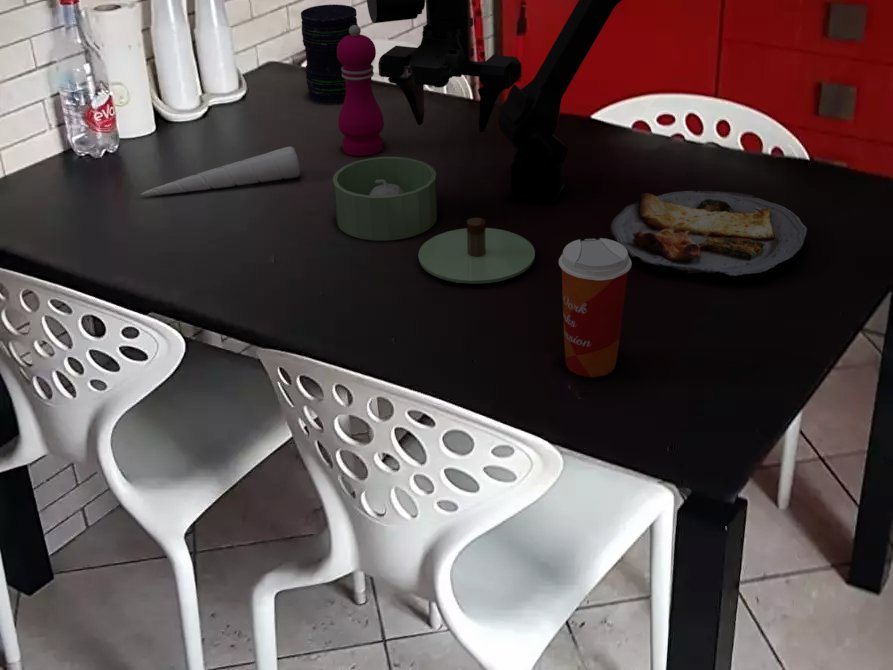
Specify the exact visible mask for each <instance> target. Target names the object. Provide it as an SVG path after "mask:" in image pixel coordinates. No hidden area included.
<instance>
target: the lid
mask: <svg viewBox="0 0 893 670" xmlns="http://www.w3.org/2000/svg"><path fill="white" fill-rule="evenodd" d="M417 256H418V262H419V265H420V267H421V268H422V269H423V270H424V271H425V272H426V273H428V274H430V275H431V276H434V277H435V278H438V279H441V280H444V281H448V282H452V283H459V284H468V285H469V284H471V285H474V284H476V285H479V284H493V283H498V282H503V281H506V280H509V279H513V278H515V277H517V276H520V275H521V274H523V273H525V272H526V271H527V270H529V269H530V268H531V267H532V265H533V264H534V262H535V259H536V250H535V247H534V246H533V244H532V243H531V242H530V241H529V240H528V239H526V237H525V238H524V237H523V236H521V235H519V234H517V233H514V232H511V231H509V230H504V229H500V228H491V227H486V220H485V219H484V218H481V217H471V218H468V219H467V220H466V227H465V228H459V229H458V228H457V229H453V230H449V231H445V232H442V233H439V234H436V235H435V236H432V237H431V238H429V239H428V240H426V241H425V242H424V243H423V244H422V245H421V246H420V248H419V250H418V254H417Z"/></svg>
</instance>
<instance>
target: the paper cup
mask: <svg viewBox="0 0 893 670" xmlns="http://www.w3.org/2000/svg"><path fill="white" fill-rule="evenodd" d="M628 252H629V251H627V249H626V248H625V247H624V246H623V245H622V244H620V243H618V242H616V241H615V240H613V239H609V238H603V237H599V239H596V238H585V239H584V240H581V239H576V240H573V241H571V242H569V243H567V244H566V245H565V247H564V248H563V250H562V253H561V255H560V257H559V258H558V266H559V267H560V269H561V286H562V289H561V290H562V314H563V337H564V338H563V339H564V340H563V341H564V356H565V357H564V358H565V365H566V368H567V369H568V370H569V371H570V372H571V373H573V374H574V375H578V376H581V377H585V378H598V377H599V378H600V377H604V376H606V375H608V374H610V373H612V372H613V371H614V370H615V368H616V364H617V361H618V353H619V347H620V346H619V345H620V338H621V330H622V322H623V315H624V308H625V307H624V306H625V298H626V289H627V283H628V282H627V281H628V275H629V274H628V273H629V271H630V270H631V268H632V265H633V264H632V263H633V262H632V260H631V257H630V255H629V253H628Z"/></svg>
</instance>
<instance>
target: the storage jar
mask: <svg viewBox="0 0 893 670" xmlns="http://www.w3.org/2000/svg"><path fill="white" fill-rule="evenodd" d="M300 18H301V35H302V43H303V46H304V48H305V49H304V50H305V59H306V65H305V75H306V76H305V81H306V85H307V90H308V93H307V95H308V99H309V100H310V101H311V102H314V103H317V104H321V105H339V104H341V105H343V103H344V100H345V96H346V83H345V78H343V77H342V71H341V68H342V66H343V65H342V64H341V63H340V61H339V60H338V58H337V46H338V44H339V42H340V41H341V40H342V39H343V38H344V37H346V36H348V35H350V33H349V28H350V27H351V26H352V25H357V26H359V25H358V19H357V9H356V8H355V7H353V6H351V5H347V4H346V5H345V4H319V5H314V6H310V7H308V8H305V9H303V10H302V11H301V12H300Z"/></svg>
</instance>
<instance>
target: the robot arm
mask: <svg viewBox="0 0 893 670" xmlns="http://www.w3.org/2000/svg"><path fill="white" fill-rule="evenodd" d="M622 1H623V0H577V2H576V4H575V6H574V8H573V9H572V11H571V13H570V14H569V16H568V18H567V19H566V22H565V23H564V25H563V27H562V28H561V31H560V32H559V34H558V36H557V37H556V39H555V41H554V42H553V45H552V46H551V48H550V49H549V51H548V53H547V55H546V57H545V58H544V60H543V62H542V63H541V65H540V67H539V69H538V70H537V72H536V74H535V76H534V77H533V79H532V80H530V81H529V82H528V83H527V84H526V85H524V86H523V87H522V88H520V87H519V86H518V85H516V84H515V83H517V82H518V81H519V80H520V79H521V78H522V72H523V71H522V69H523V68H522V63H521V60H520V59H519V58H518V57H517V56H511V55H498V54H492V55H491V56H490V57H488V58H487V59H486V60H485V61H484V62H483V61H475V60H474V61H473V60H471V59H472V58H473V57H474V55H475V54H474V53H475V52H474V47H471V28H472V27H474V17H471V13H470V12H471V11H470V10H471V8H470V7H471V5H470V0H366V4H367V10H368V15H369V18H370V21H371V22H372V24H380V23H389V22H400V21H408V20H416V19H417V18H418V16H419V15H422V14H423V10H424V9H425V10H426V11H425V15H426V16H425V17H426V18H425V19H426V23H425V24H424V25H423V26H422V32H421V35H422V38H421V40H420V44H419V45H418V46H415V47H414V46H403V45H395V46H393V47H392V48H390V49H389V50H387V51H386V52H385V53H383V54H382V55H381V56H380V57H379V59H378V63H377V64H378V76H380V77H381V78H387V80H388V82H389V83H390V84H394V85H395V86H397V87H398V88H400V89H401V91H402V93H403V94H404V97H405V98H406V100H407V102H408V106H409V108H410V109H411V113H412V115H413V117H414V119H415V122H416V124H417V125H418V126H421V125H422V124H423V123H424V117H425V116H424V115H425V86H432V87H434V88H444V87H446V86H447V85H448V84H449V82H450V79H453V77H454V78H461V77H462V76H467V77H479V78H478V79H479V83H480V84H481V86H480V87H479V88H478V89H477V92H478V95H479V113H478V115H479V116H478V127H479V133H484V132H485V131H486V129H487V127H488V123H489V120H490V117H491V115H492V114H493V113H492V112H493V110H494V107H495V105H496V102H497V99H498V98H499V96H500V94H501V93H503V91H505V90H508V89H509V92H508V95H507V97H506V99H505V100H504V102H503V103H502V104H500V105H499V107H498V110H499V111H501V112H500V114H499V116H498V125H499V130H500V131H501V133H502V134H503V136H504V137H505V138H506V139H507V140H508V141H509V142H510V143H511V144H512V146H513V148H516V150H517V151H516V152H515V154H514V155H513V162H512V163H511V164H510V190H511V191H512V192H511V193H510V195H509V199H510V200H513V201H514V200H515V201H520V202H528V203H536V204H543V205H553V204H554V203H555V202H556V201H557V199H558V198H559V197H560V196H561V194H562V193H563V191H564V190H565V188H566V187H565V184H563V183H562V166H563V164H564V162H565V160H566V157H567V154H568V151H569V148H568V147H567V146H566V145H565V144H564V143H563V142H561V140H559V139H558V138H557V137H556V136H555V135H554V133H555V130H556V128H557V125H558V123H559V121H560V120H559V119H560V112H561V105H562V100H563V96H564V95H565V93H566V92H567V90H568V89H569V86H570V85H571V83H572V81H573V80H574V78H575V77H576V74H577V73H578V71H579V69H580V68H581V66H582V65H583V62H584V61H585V59H586V58H587V56H588V54H589V52H590V51H591V49H592V47H593V45H594V44H595V43H596V40H597V38H598V37H599V35H600V34H601V32H602V30H603V28H604V27H605V25H606V23H607V21H608V20H609V18H610V16H611V15H612V13H613V11H614V9H615V8H616V7H617V6H618V4H620V3H621V2H622Z"/></svg>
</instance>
